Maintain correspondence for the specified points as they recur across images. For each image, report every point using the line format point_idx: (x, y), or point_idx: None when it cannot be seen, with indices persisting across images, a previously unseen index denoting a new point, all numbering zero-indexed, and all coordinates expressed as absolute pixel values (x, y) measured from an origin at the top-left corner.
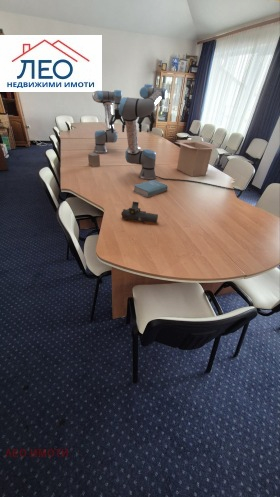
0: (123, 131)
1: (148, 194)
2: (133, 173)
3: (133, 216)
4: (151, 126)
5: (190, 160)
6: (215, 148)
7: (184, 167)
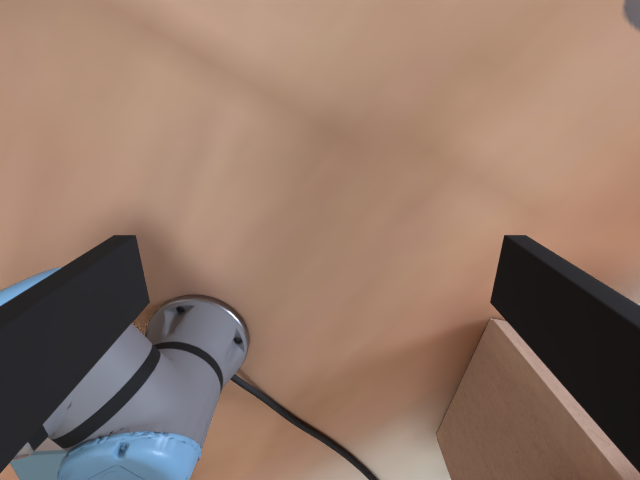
0: None
1: None
2: (154, 245)
3: None
4: (570, 375)
5: None
6: None
7: (475, 401)
